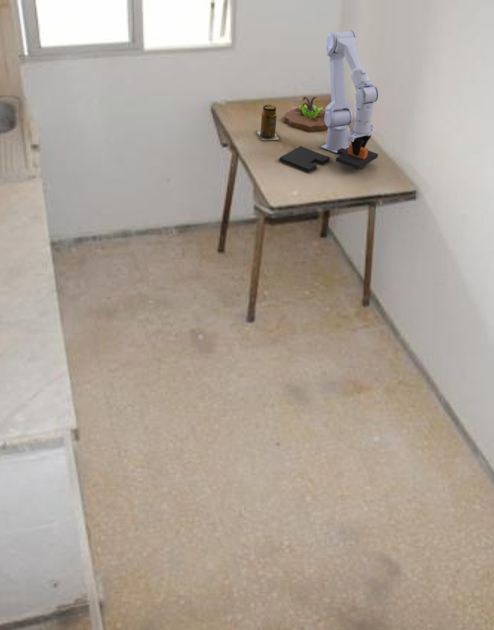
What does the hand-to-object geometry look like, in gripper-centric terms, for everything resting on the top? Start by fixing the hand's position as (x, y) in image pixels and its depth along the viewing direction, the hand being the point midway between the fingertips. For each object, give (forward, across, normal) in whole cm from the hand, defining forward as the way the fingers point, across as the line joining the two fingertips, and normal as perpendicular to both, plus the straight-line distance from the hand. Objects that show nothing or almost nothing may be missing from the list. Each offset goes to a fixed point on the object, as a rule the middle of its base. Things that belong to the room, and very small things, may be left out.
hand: (357, 153), depth 273 cm
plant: (+6, +22, +37) cm, 43 cm away
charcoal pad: (+2, 0, +2) cm, 3 cm away
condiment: (+6, -2, +41) cm, 41 cm away
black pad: (+5, -10, +17) cm, 20 cm away
